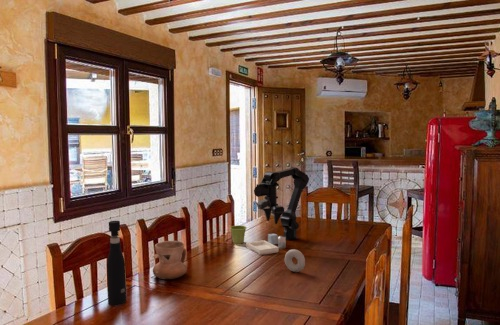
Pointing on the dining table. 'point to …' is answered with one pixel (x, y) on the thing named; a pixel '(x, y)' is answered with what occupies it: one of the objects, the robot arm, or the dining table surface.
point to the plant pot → (238, 234)
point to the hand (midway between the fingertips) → (271, 222)
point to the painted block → (273, 238)
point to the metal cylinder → (281, 242)
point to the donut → (300, 260)
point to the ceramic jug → (170, 260)
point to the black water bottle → (116, 268)
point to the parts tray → (262, 247)
